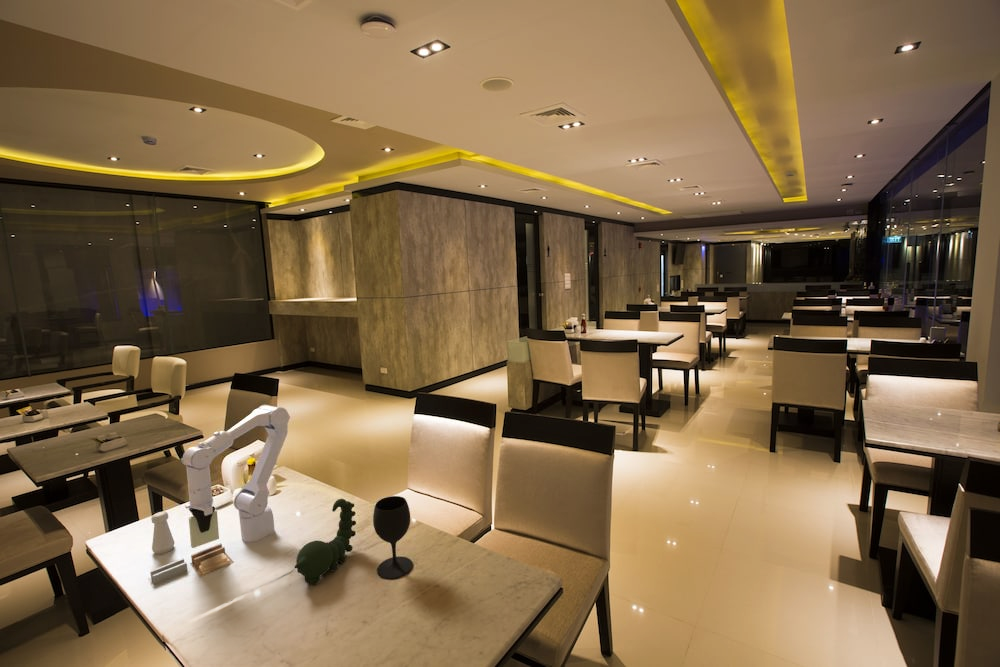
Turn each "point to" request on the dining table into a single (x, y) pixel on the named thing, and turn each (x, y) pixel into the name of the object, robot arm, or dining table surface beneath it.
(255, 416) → the robot arm
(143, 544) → the dining table surface
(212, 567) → the lower pine offcut
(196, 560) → the walnut rack
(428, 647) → the dining table surface
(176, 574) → the slate stand
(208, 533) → the sage sheet
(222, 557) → the upper pine offcut
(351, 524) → the toy figurine
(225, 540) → the dining table surface
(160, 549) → the salt shaker
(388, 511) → the wine glass
